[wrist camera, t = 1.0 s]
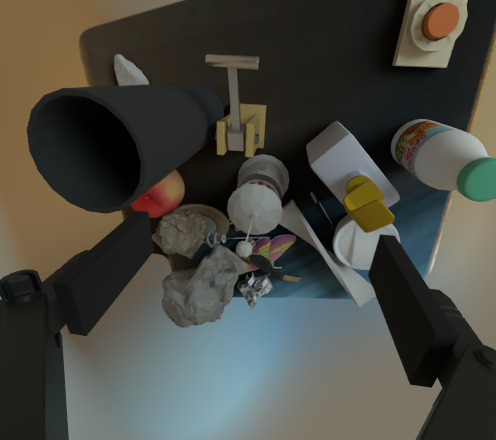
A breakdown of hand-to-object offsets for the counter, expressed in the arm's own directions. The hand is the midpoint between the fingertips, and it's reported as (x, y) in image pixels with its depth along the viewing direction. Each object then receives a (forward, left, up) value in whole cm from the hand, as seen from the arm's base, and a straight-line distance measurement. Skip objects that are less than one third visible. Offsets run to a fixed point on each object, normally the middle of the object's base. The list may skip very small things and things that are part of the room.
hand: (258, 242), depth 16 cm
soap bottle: (+4, +11, -37) cm, 39 cm away
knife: (+13, +12, -37) cm, 41 cm away
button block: (-16, +19, -37) cm, 45 cm away
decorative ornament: (+21, -5, -35) cm, 41 cm away
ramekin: (+18, +17, -37) cm, 44 cm away
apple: (+11, -21, -37) cm, 44 cm away
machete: (+25, +3, -34) cm, 42 cm away
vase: (-2, -15, -37) cm, 40 cm away
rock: (+21, -14, -25) cm, 35 cm away
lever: (-5, -6, -25) cm, 26 cm away
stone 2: (+30, -12, -34) cm, 47 cm away
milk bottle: (0, +22, -37) cm, 43 cm away
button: (-16, +19, -34) cm, 42 cm away
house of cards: (+31, -3, -37) cm, 49 cm away
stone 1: (-7, -26, -37) cm, 46 cm away
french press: (+10, -3, -37) cm, 38 cm away
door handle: (+21, +13, -33) cm, 41 cm away
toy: (+20, -9, -27) cm, 34 cm away
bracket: (-1, -6, -37) cm, 38 cm away
